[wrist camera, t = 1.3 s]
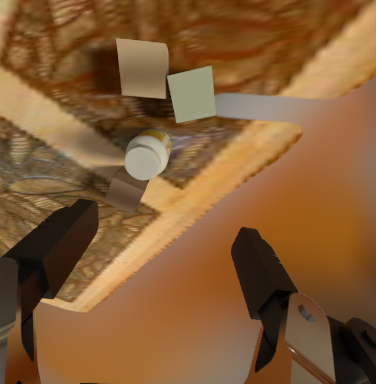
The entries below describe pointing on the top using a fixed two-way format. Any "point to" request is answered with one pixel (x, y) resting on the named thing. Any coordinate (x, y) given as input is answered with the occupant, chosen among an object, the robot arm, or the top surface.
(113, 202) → the walnut block
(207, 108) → the sage block
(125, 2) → the top surface
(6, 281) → the robot arm
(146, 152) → the supplement bottle
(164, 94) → the oak block
